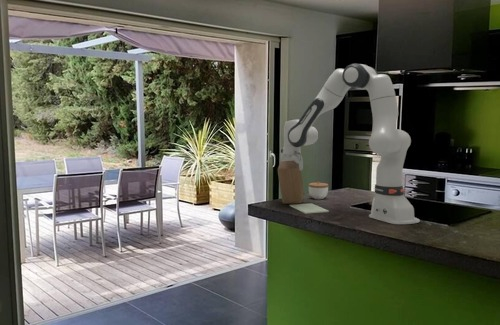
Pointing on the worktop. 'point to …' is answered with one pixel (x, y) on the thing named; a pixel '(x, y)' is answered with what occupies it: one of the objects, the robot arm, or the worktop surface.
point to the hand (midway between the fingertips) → (291, 177)
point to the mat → (309, 208)
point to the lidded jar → (318, 190)
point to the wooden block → (290, 182)
